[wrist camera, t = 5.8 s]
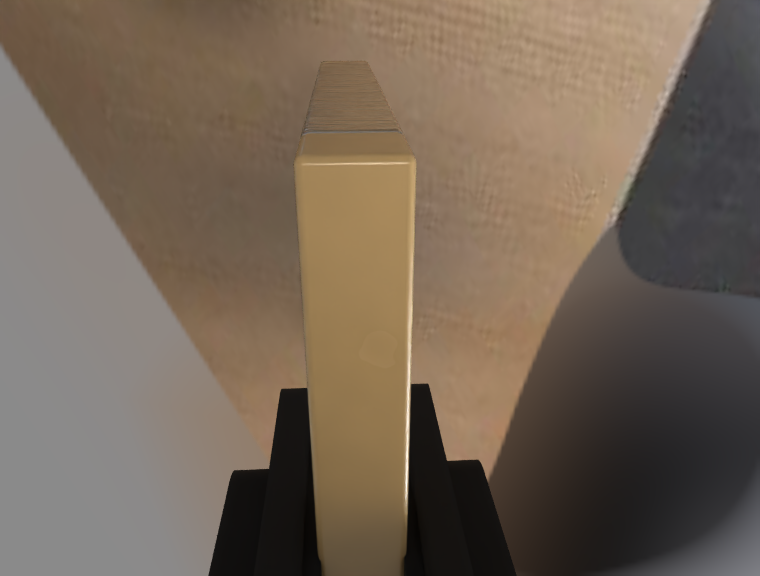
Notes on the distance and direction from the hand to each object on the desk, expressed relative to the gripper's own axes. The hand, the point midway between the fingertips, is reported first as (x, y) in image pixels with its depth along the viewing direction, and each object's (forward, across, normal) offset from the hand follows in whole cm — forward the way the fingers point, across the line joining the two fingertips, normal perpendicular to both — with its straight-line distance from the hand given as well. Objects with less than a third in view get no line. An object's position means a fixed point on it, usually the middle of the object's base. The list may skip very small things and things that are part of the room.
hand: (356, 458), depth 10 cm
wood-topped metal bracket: (+5, 0, 0) cm, 5 cm away
